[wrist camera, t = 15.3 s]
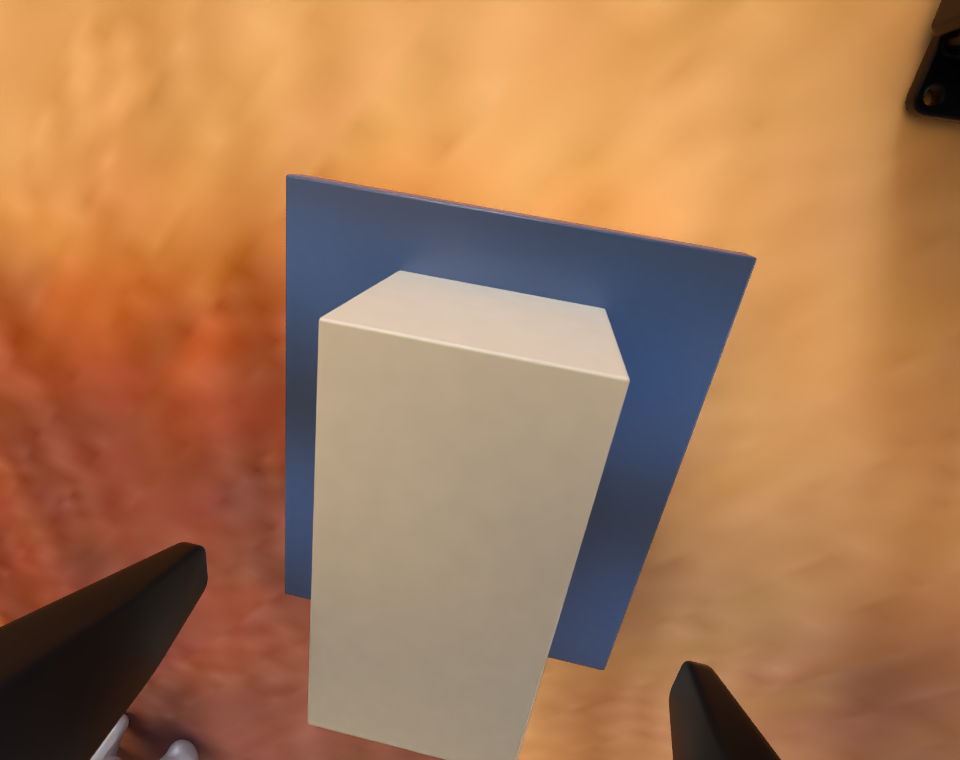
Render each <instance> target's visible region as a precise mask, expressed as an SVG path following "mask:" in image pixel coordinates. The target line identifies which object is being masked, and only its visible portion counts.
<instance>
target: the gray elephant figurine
mask: <svg viewBox="0 0 960 760" xmlns="http://www.w3.org/2000/svg"><path fill="white" fill-rule="evenodd" d="M128 724H129V719H128V717H127V716H126V715H125V714H123V716H122V717H121V718H120V720H119V721H118V722H117V724H116V725H115V727H114V728H113V729H112V731H111V732H110V733H109V735H108V736H107V737H106V739H105V740H104V741H103V743H102V744H101V746H100V747H99V748H98V750H97V751H96V752H95V754H94V755H93V756H92V758H91V759H90V760H122V759H121V758H119V757H116V755H117V751H118V748H119V744H120V740H121V737H122V735H123V733H124V732H125V730H126V729H127V727H128ZM198 758H199V756H198V752H197V750H196V748H195V747H194V745H193V744H192V743H191V742H189V741H187V740H178V741H176V742H174V743H173V744H172V745H171V746H170V748H169V749H168V751H167V753H166V754H165V755H164V756H163V757H162V758H161V759H159V760H198Z"/></svg>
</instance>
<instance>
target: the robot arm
mask: <svg viewBox="0 0 960 760" xmlns="http://www.w3.org/2000/svg"><path fill="white" fill-rule="evenodd" d="M932 30H933V37H932V40H931V42H930V44H929V46H928V49H927V51H926V53H925V56H924V58H923V60H922V63H921V65H920V67H919V69H918V72H917V74H916V76H915V79H914V81H913V83H912V86H911V88H910V90H909V92H908V95H907V98H906V102H905V103H906V109H907V111H908V112H909V113H910V114H911V115H914V116H917V117H923V118H930V119H936V120H943V121H949V122H956V123H960V0H942V2H941V4H940V6H939V9H938V11H937V13H936V16H935V18H934V20H933V23H932ZM928 89H931V90H933V93H934V98H933V100H932V102H931V103H930V104H929V105H926V104H925V103H924V101H923V98H924V94H925V93H926V92H927V90H928ZM207 580H208V575H207V564H206V552H205V549H204V548H203V547H202V546H200V545H196V544H191V543H187V542H181V543H178V544H176V545H174V546H171V547H169V548H167V549H165V550H163V551H161V552H159V553H157V554H154V555H152V556H150V557H148V558H146V559H144V560H142V561H140V562H138V563H135V564H133V565H131V566H129V567H127V568H125V569H123V570H121V571H118V572H116V573H114V574H112V575H110V576H108V577H106V578H104V579H101V580H99V581H97V582H95V583H93V584H91V585H89V586H87V587H85V588H82V589H80V590H78V591H76V592H74V593H72V594H70V595H68V596H65V597H63V598H61V599H59V600H57V601H55V602H53V603H51V604H48V605H46V606H44V607H42V608H40V609H38V610H36V611H34V612H32V613H29V614H27V615H25V616H23V617H21V618H19V619H17V620H15V621H12V622H10V623H8V624H6V625H4V626H2V627H0V760H90V759H91V758H92V756H93V755H94V754H95V752H96V751H97V750H98V748H99V747H100V746H101V744H102V743H103V741H104V740H105V739H106V737H107V736H108V735H109V733H110V732H111V731H112V729H113V728H114V727H115V725H116V724H117V722H118V721H119V720H120V718H121V717H122V716H123V714H124V713H125V712H126V710H127V709H128V708H129V706H130V705H131V703H132V702H133V701H134V699H135V698H136V697H137V695H138V694H139V693H140V691H141V690H142V689H143V687H144V686H145V684H146V683H147V682H148V680H149V679H150V677H151V676H152V675H153V673H154V672H155V670H156V669H157V667H158V666H159V664H160V663H161V661H162V659H163V658H164V656H165V655H166V653H167V651H168V650H169V648H170V646H171V645H172V643H173V641H174V640H175V638H176V636H177V635H178V633H179V632H180V630H181V628H182V627H183V625H184V623H185V622H186V620H187V618H188V617H189V615H190V613H191V612H192V610H193V608H194V607H195V605H196V603H197V602H198V600H199V598H200V597H201V595H202V594H203V592H204V590H205V587H206V585H207ZM669 711H670V724H671V737H672V751H673V760H781V759H780V758H779V756H778V755H777V754H776V752H775V751H774V750H773V748H772V747H771V746H770V744H769V743H768V742H767V741H766V739H765V738H764V737H763V735H762V734H761V733H760V731H759V730H758V729H757V727H756V726H755V725H754V723H753V722H752V721H751V719H750V718H749V717H748V715H747V714H746V713H745V711H744V710H743V709H742V707H741V706H740V705H739V703H738V702H737V701H736V699H735V698H734V697H733V695H732V694H731V693H730V691H729V690H728V689H727V687H726V686H725V685H724V683H723V682H722V681H721V680H720V678H719V677H718V676H717V674H716V673H715V672H714V670H713V669H712V668H711V667H709V666H708V665H705V664H701V663H697V662H692V661H686V662H684V663H683V665H682V666H681V669H680V671H679V673H678V675H677V677H676V680H675V682H674V684H673V686H672V688H671V691H670V696H669Z"/></svg>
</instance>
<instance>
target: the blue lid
mask: <svg viewBox="0 0 960 760" xmlns="http://www.w3.org/2000/svg"><path fill="white" fill-rule="evenodd" d="M755 263H756V258H755V257H753V256H750V255H748V254H746V253H741V252H735V251H730V250H724V249H718V248H713V247H707V246H702V245H696V244H690V243H685V242H679V241H673V240H668V239H662V238H656V237H651V236H645V235H640V234H634V233H628V232H623V231H617V230H611V229H606V228H600V227H594V226H589V225H583V224H578V223H572V222H566V221H561V220H555V219H549V218H544V217H538V216H532V215H527V214H521V213H516V212H510V211H504V210H499V209H493V208H487V207H482V206H476V205H470V204H465V203H459V202H454V201H448V200H442V199H437V198H431V197H425V196H420V195H414V194H409V193H403V192H397V191H392V190H386V189H380V188H375V187H369V186H363V185H358V184H352V183H347V182H341V181H335V180H330V179H324V178H318V177H313V176H307V175H298V174H289V175H287V176H286V458H285V593H286V594H289V595H293V596H297V597H301V598H306V599H310V600H311V583H312V548H313V512H314V476H315V441H316V405H317V369H318V334H319V319H320V318H321V317H322V316H324V315H326V314H327V313H329V312H331V311H332V310H334V309H336V308H337V307H339V306H341V305H342V304H344V303H346V302H347V301H349V300H351V299H353V298H354V297H356V296H358V295H359V294H361V293H363V292H364V291H366V290H368V289H369V288H371V287H373V286H374V285H376V284H378V283H379V282H381V281H383V280H384V279H386V278H388V277H389V276H391V275H393V274H394V273H396V272H398V271H406V272H411V273H417V274H422V275H427V276H433V277H438V278H443V279H449V280H454V281H460V282H465V283H470V284H476V285H481V286H486V287H492V288H497V289H502V290H508V291H513V292H518V293H524V294H529V295H534V296H540V297H545V298H550V299H556V300H561V301H566V302H572V303H577V304H582V305H588V306H593V307H599V308H604V309H605V310H606V313H607V316H608V319H609V322H610V324H611V327H612V330H613V333H614V336H615V339H616V342H617V345H618V347H619V350H620V353H621V356H622V359H623V362H624V365H625V367H626V370H627V373H628V376H629V380H630V383H629V386H628V389H627V393H626V396H625V399H624V403H623V406H622V409H621V413H620V416H619V419H618V423H617V426H616V429H615V433H614V436H613V439H612V443H611V446H610V449H609V453H608V456H607V460H606V463H605V466H604V470H603V473H602V476H601V480H600V483H599V486H598V490H597V493H596V496H595V500H594V503H593V506H592V510H591V513H590V516H589V520H588V523H587V527H586V530H585V533H584V537H583V540H582V543H581V547H580V550H579V553H578V557H577V560H576V563H575V567H574V570H573V573H572V577H571V580H570V583H569V587H568V590H567V594H566V597H565V600H564V604H563V607H562V610H561V614H560V617H559V620H558V624H557V627H556V630H555V634H554V637H553V640H552V644H551V647H550V650H549V654H548V657H550V658H554V659H558V660H562V661H567V662H571V663H575V664H579V665H583V666H587V667H591V668H596V669H600V670H604V669H605V666H606V664H607V661H608V658H609V656H610V653H611V650H612V648H613V645H614V642H615V639H616V637H617V634H618V631H619V629H620V626H621V623H622V621H623V618H624V615H625V613H626V610H627V607H628V604H629V602H630V599H631V596H632V594H633V591H634V588H635V586H636V583H637V580H638V578H639V575H640V572H641V569H642V567H643V564H644V561H645V559H646V556H647V553H648V551H649V548H650V545H651V543H652V540H653V537H654V534H655V532H656V529H657V526H658V524H659V521H660V518H661V516H662V513H663V510H664V508H665V505H666V502H667V500H668V497H669V494H670V491H671V489H672V486H673V483H674V481H675V478H676V475H677V473H678V470H679V467H680V465H681V462H682V459H683V456H684V454H685V451H686V448H687V446H688V443H689V440H690V438H691V435H692V432H693V430H694V427H695V424H696V421H697V419H698V416H699V413H700V411H701V408H702V405H703V403H704V400H705V397H706V395H707V392H708V389H709V386H710V384H711V381H712V378H713V376H714V373H715V370H716V368H717V365H718V362H719V360H720V357H721V354H722V351H723V349H724V346H725V343H726V341H727V338H728V335H729V333H730V330H731V327H732V325H733V322H734V319H735V316H736V314H737V311H738V308H739V306H740V303H741V300H742V298H743V295H744V292H745V290H746V287H747V284H748V281H749V279H750V276H751V273H752V271H753V268H754V265H755Z"/></svg>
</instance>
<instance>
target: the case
mask: <svg viewBox="0 0 960 760" xmlns="http://www.w3.org/2000/svg"><path fill="white" fill-rule="evenodd" d="M629 383H630V380H629V376H628V373H627V370H626V367H625V365H624V362H623V359H622V356H621V353H620V350H619V347H618V345H617V342H616V339H615V336H614V333H613V330H612V327H611V324H610V322H609V319H608V316H607V313H606V310H605V309H604V308H599V307H593V306H588V305H582V304H577V303H572V302H566V301H561V300H556V299H550V298H545V297H540V296H534V295H529V294H524V293H518V292H513V291H508V290H502V289H497V288H492V287H486V286H481V285H476V284H470V283H465V282H460V281H454V280H449V279H443V278H438V277H433V276H427V275H422V274H417V273H411V272H406V271H398V272H396V273H394V274H393V275H391V276H389V277H388V278H386V279H384V280H383V281H381V282H379V283H378V284H376V285H374V286H373V287H371V288H369V289H368V290H366V291H364V292H363V293H361V294H359V295H358V296H356V297H354V298H353V299H351V300H349V301H347V302H346V303H344V304H342V305H341V306H339V307H337V308H336V309H334V310H332V311H331V312H329V313H327V314H326V315H324V316H322V317H321V318H320V319H319V334H318V369H317V405H316V441H315V476H314V512H313V548H312V583H311V619H310V655H309V690H308V724H310V725H314V726H318V727H322V728H326V729H330V730H333V731H337V732H341V733H345V734H349V735H353V736H357V737H360V738H364V739H368V740H372V741H376V742H380V743H384V744H387V745H391V746H395V747H399V748H403V749H407V750H411V751H414V752H418V753H422V754H426V755H430V756H434V757H438V758H442V759H445V760H517V758H518V754H519V751H520V748H521V744H522V741H523V738H524V734H525V731H526V728H527V724H528V721H529V717H530V714H531V711H532V707H533V704H534V701H535V697H536V694H537V691H538V687H539V684H540V681H541V677H542V674H543V671H544V667H545V664H546V661H547V657H548V654H549V650H550V647H551V644H552V640H553V637H554V634H555V630H556V627H557V624H558V620H559V617H560V614H561V610H562V607H563V604H564V600H565V597H566V594H567V590H568V587H569V583H570V580H571V577H572V573H573V570H574V567H575V563H576V560H577V557H578V553H579V550H580V547H581V543H582V540H583V537H584V533H585V530H586V527H587V523H588V520H589V516H590V513H591V510H592V506H593V503H594V500H595V496H596V493H597V490H598V486H599V483H600V480H601V476H602V473H603V470H604V466H605V463H606V460H607V456H608V453H609V449H610V446H611V443H612V439H613V436H614V433H615V429H616V426H617V423H618V419H619V416H620V413H621V409H622V406H623V403H624V399H625V396H626V393H627V389H628V386H629Z"/></svg>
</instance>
